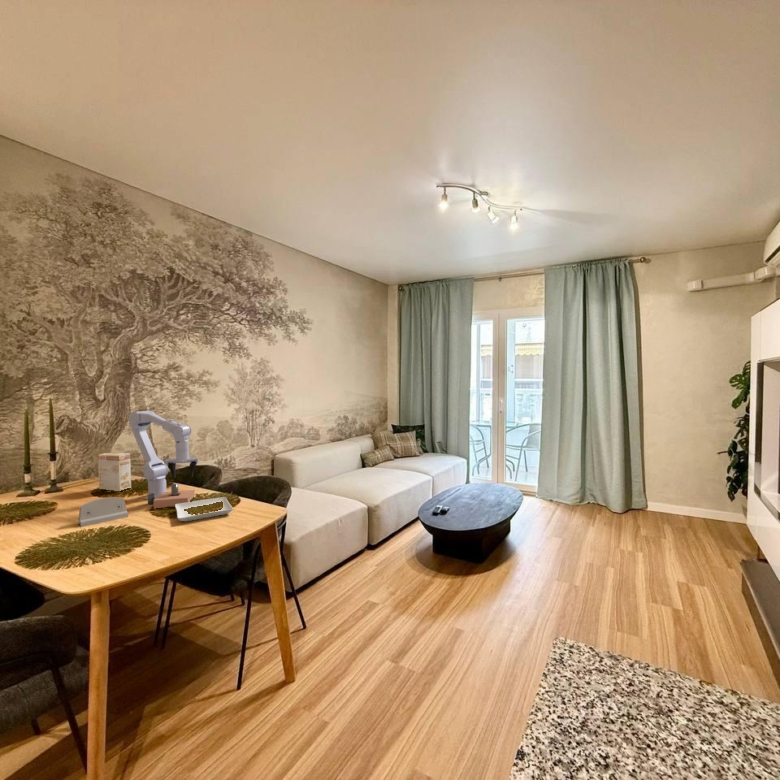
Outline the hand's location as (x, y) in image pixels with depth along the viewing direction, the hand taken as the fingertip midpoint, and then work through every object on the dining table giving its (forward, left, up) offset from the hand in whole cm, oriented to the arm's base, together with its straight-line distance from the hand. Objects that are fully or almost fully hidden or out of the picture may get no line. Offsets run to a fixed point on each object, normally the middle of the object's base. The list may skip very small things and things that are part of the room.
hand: (183, 477), depth 193 cm
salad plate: (+26, +14, -11) cm, 32 cm away
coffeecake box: (-29, -40, -11) cm, 51 cm away
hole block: (+7, -2, -10) cm, 13 cm away
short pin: (+4, -13, -10) cm, 17 cm away
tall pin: (+7, -2, -10) cm, 13 cm away
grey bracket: (+23, -25, -11) cm, 36 cm away
